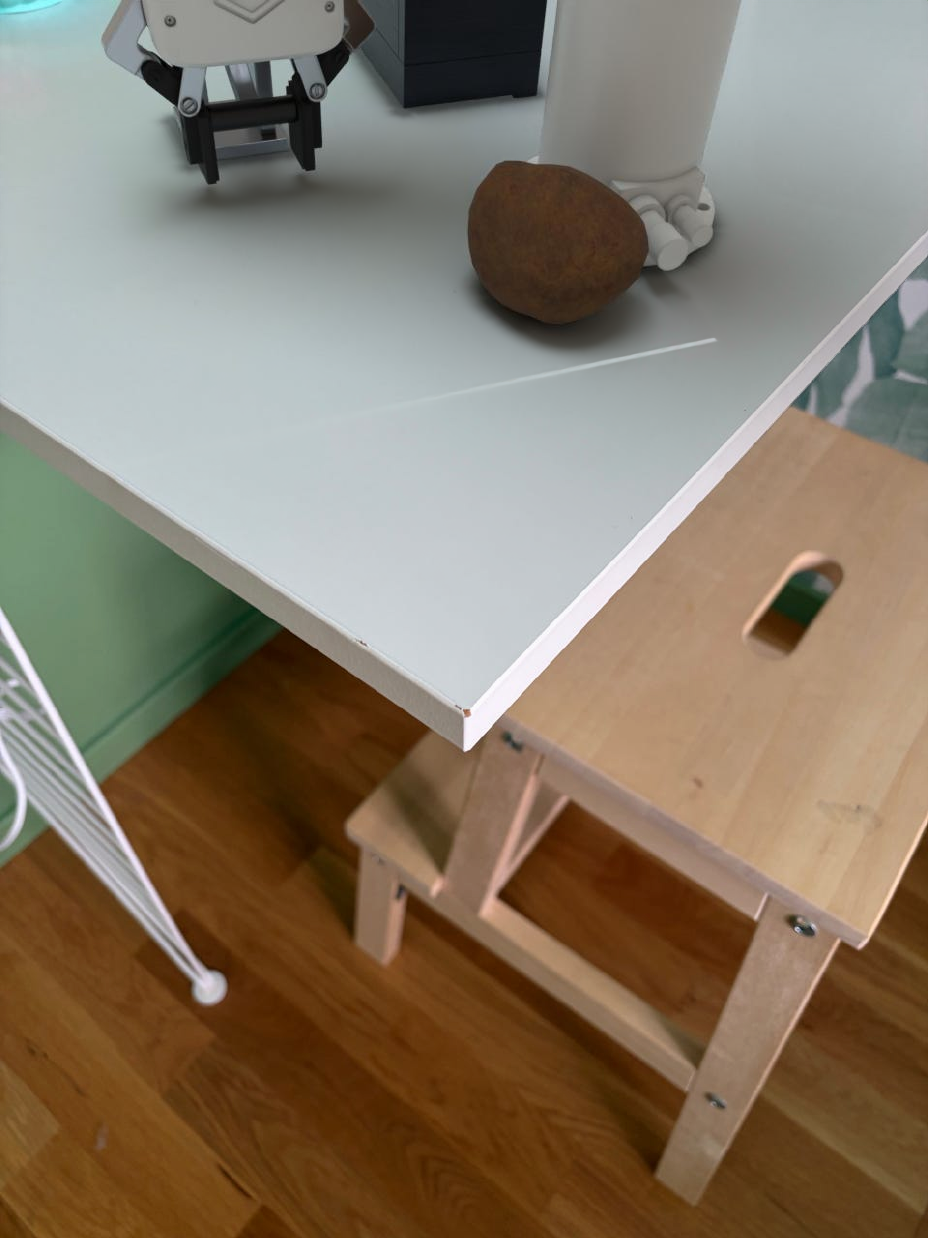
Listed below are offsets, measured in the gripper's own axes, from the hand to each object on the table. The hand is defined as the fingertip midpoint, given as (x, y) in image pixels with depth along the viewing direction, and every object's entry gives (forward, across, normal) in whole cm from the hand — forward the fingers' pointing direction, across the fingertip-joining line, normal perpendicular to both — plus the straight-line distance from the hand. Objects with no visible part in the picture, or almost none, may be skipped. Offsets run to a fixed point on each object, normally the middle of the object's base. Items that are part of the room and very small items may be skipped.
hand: (255, 163), depth 61 cm
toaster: (+2, +17, +13) cm, 22 cm away
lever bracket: (+2, 0, +7) cm, 7 cm away
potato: (+2, +12, -16) cm, 20 cm away
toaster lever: (-4, 0, +4) cm, 6 cm away
